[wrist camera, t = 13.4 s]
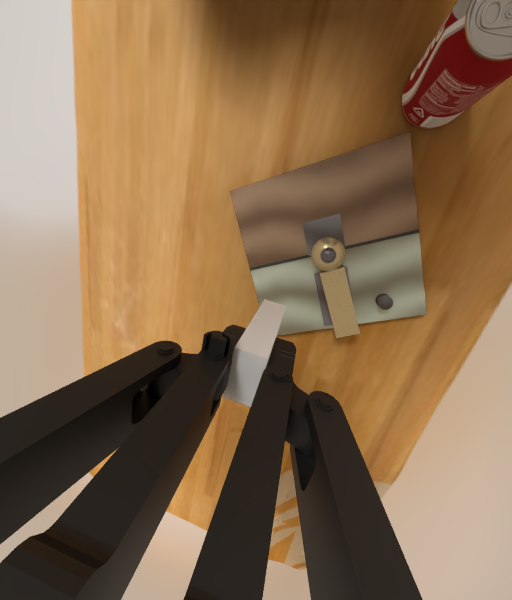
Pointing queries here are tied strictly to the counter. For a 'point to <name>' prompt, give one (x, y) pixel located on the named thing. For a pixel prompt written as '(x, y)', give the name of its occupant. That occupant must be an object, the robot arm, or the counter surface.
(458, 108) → the soda can
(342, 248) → the swing bar
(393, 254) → the latch board
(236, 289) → the counter surface
